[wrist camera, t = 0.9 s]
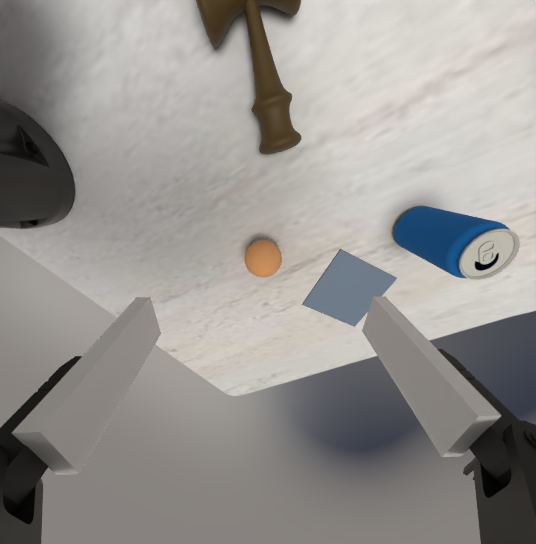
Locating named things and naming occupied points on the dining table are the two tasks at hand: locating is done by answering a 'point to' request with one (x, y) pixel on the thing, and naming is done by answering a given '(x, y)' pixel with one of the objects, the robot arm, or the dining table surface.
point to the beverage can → (457, 242)
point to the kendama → (258, 66)
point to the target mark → (348, 288)
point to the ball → (263, 258)
